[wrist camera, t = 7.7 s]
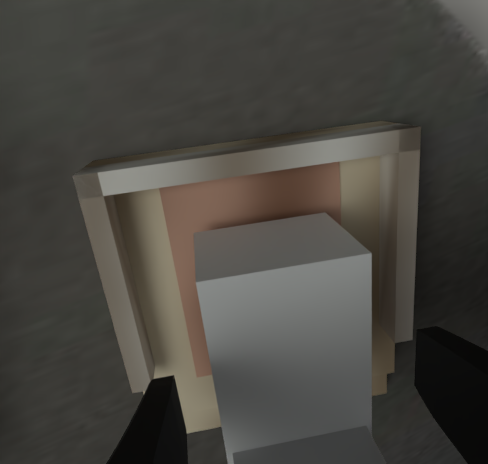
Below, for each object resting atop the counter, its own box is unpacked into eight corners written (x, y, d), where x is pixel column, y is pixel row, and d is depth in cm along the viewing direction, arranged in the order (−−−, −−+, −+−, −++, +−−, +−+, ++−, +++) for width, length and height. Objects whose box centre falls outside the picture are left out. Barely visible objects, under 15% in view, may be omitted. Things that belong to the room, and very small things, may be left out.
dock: (381, 120, 17) (420, 126, 14) (380, 383, 22) (408, 426, 19) (93, 160, 16) (72, 176, 13) (160, 427, 20) (156, 480, 18)
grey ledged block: (316, 205, 16) (398, 276, 10) (324, 348, 18) (392, 477, 12) (193, 224, 15) (196, 311, 9) (217, 368, 18) (233, 512, 12)
